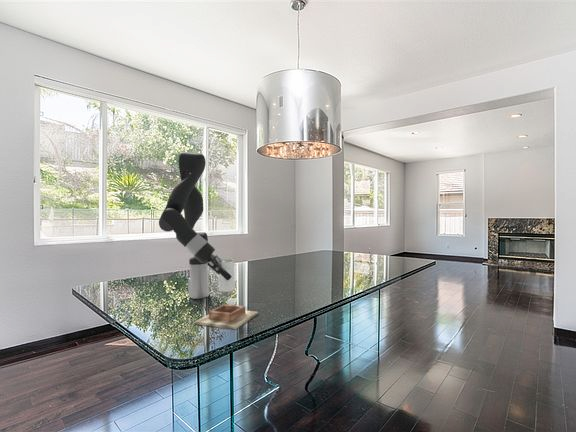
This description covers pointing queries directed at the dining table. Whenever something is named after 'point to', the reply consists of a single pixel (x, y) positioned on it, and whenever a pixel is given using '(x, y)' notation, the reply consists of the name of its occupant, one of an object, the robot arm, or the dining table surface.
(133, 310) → the dining table surface
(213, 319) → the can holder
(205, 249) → the robot arm
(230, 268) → the can
